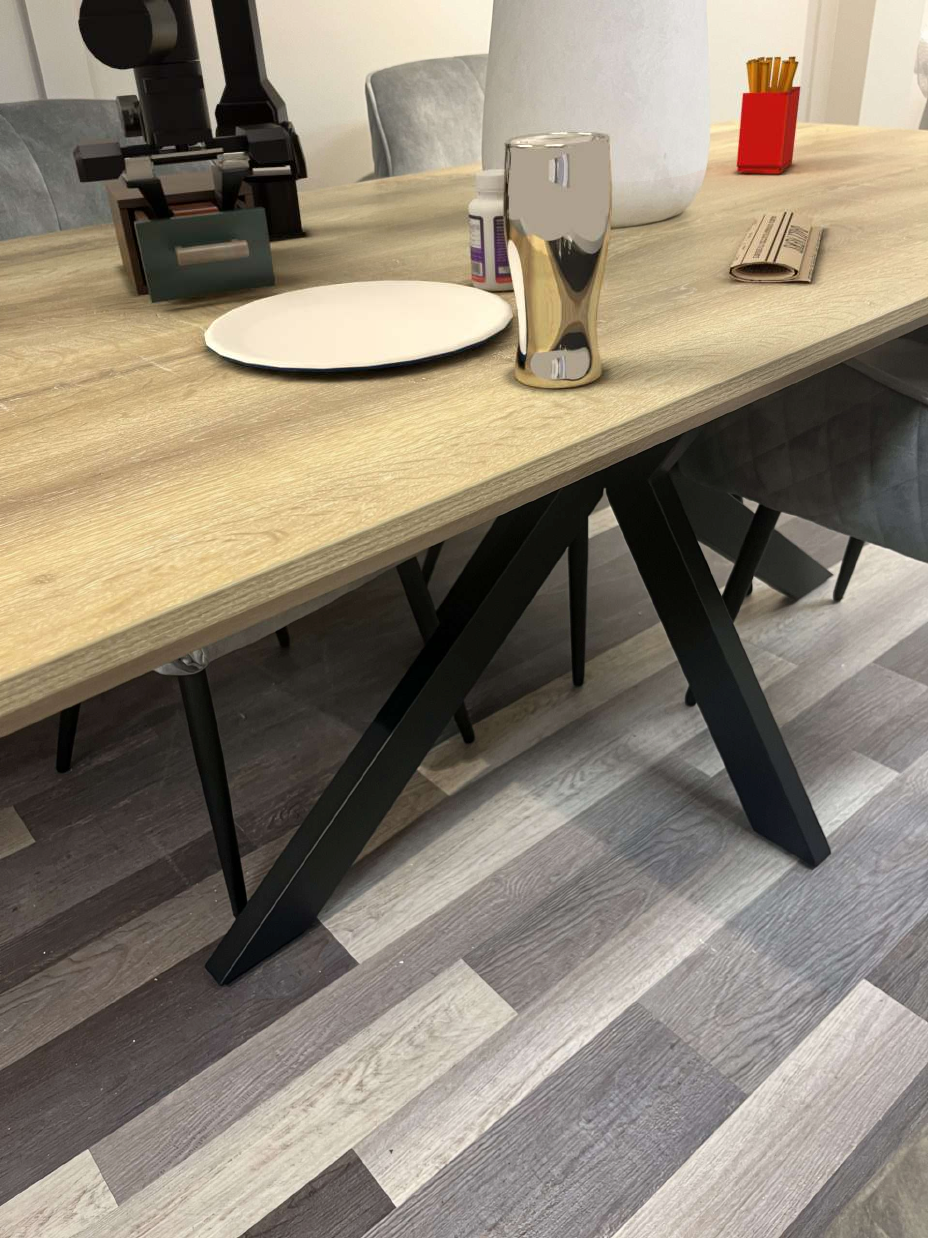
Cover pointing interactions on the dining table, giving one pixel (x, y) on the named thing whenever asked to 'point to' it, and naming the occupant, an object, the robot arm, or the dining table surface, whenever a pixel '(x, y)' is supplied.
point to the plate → (358, 326)
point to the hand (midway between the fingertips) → (201, 252)
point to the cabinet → (123, 198)
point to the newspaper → (777, 249)
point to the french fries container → (768, 117)
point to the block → (192, 209)
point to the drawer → (203, 251)
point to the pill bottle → (488, 234)
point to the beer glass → (557, 251)
